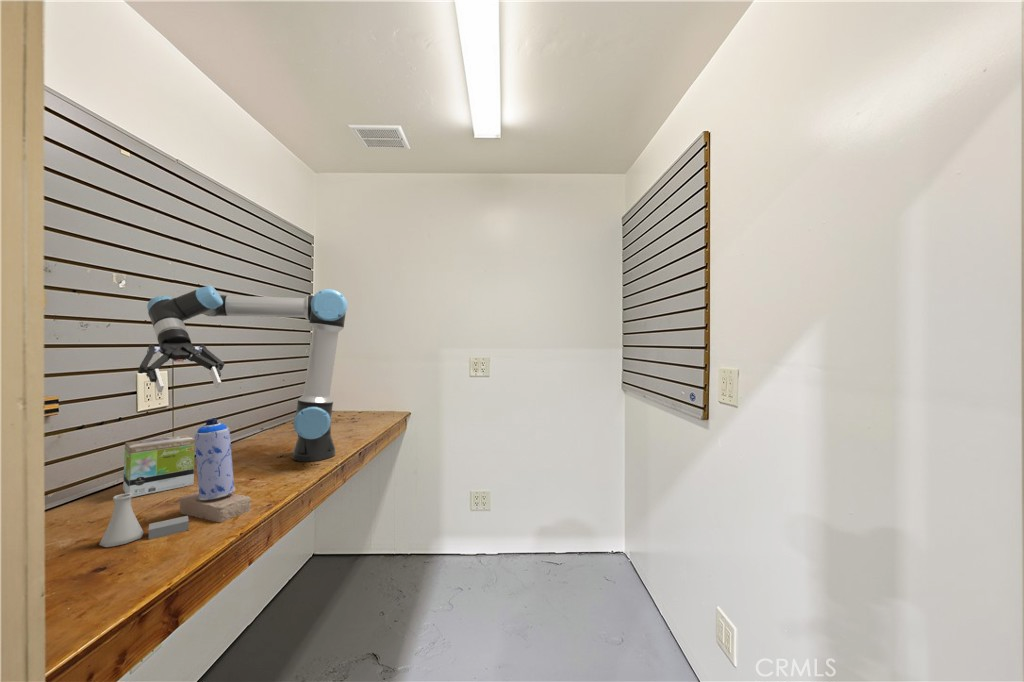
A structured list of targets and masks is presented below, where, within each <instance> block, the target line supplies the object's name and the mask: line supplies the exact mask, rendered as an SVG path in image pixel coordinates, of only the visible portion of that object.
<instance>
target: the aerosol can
mask: <svg viewBox="0 0 1024 682" xmlns="http://www.w3.org/2000/svg"><path fill="white" fill-rule="evenodd" d="M205 422H206V424H204V425H203V426H201V427H200V428H198V430H197V431H196V432H195V433H194V439H195V458H196V459H195V460H196V470H197V471H196V472H197V483H198V484H197V485H198V491H199V497H198V498H199V500H210V499H216V498H220V497H223V496H226V495H229V494H234V492H236V487H235V482H234V481H235V479H234V468H233V456H232V455H233V453H232V443H231V431H230V427H228V426H227V425H226V424H224V423H221V422H218V419H217V418H209V419H206V421H205Z"/></svg>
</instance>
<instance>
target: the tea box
mask: <svg viewBox="0 0 1024 682" xmlns="http://www.w3.org/2000/svg"><path fill="white" fill-rule="evenodd" d="M195 456H196V448H195V438H193V437H191V436H189V435H187V434H183V435H177V436H168V437H167V436H166V437H159V438H152V439H143V440H136V441H127V442H125V443H124V458H123V462H124V463H123V484H122V485H123V487H122V489H123V492H124V494H126V493H132V494H133V495H132V497H131V499H132V498H135V497H139V496H143V495H148V494H154V493H159V492H164V491H168V490H174V489H180V488H185V486H186V487H190V486H189V485H191V486H193V485H194V480H195V479H194V478H195Z"/></svg>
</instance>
